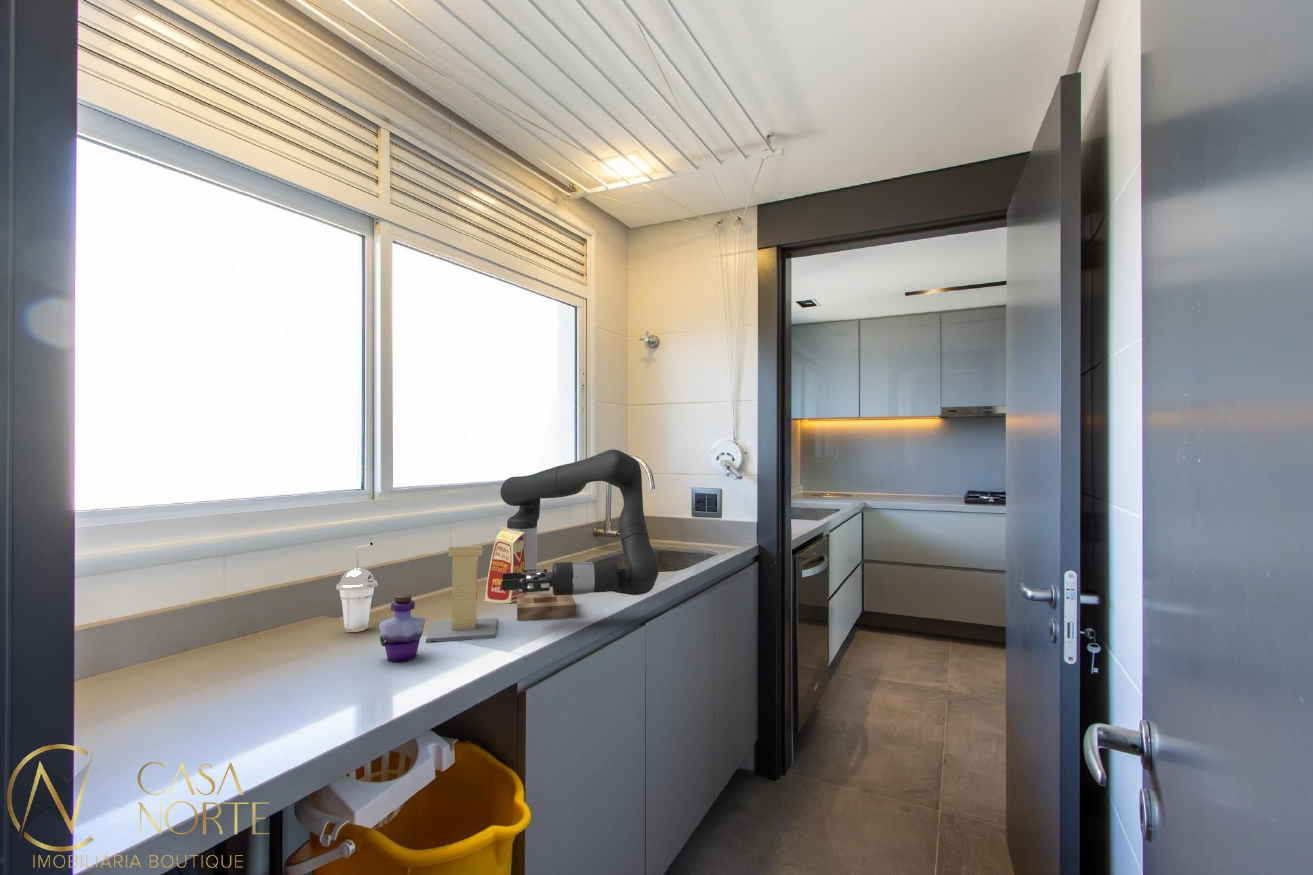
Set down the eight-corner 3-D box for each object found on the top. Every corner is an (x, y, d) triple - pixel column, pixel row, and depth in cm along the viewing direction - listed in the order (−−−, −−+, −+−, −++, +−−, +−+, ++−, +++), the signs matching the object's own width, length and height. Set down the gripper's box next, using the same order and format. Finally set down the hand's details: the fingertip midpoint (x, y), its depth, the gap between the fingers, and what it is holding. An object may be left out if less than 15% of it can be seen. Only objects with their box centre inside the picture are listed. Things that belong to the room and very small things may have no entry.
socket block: (517, 620, 142) (517, 607, 142) (517, 606, 156) (517, 595, 156) (576, 617, 145) (576, 604, 145) (570, 603, 159) (571, 592, 159)
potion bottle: (373, 656, 116) (373, 594, 116) (419, 648, 121) (419, 588, 122) (383, 668, 109) (384, 602, 110) (432, 659, 114) (432, 595, 115)
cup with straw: (374, 623, 140) (375, 537, 141) (380, 632, 133) (381, 541, 133) (333, 628, 136) (335, 540, 136) (336, 638, 128) (338, 544, 129)
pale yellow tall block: (446, 631, 130) (447, 548, 131) (449, 625, 135) (450, 545, 136) (480, 629, 132) (480, 547, 133) (481, 623, 137) (482, 544, 137)
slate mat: (426, 642, 125) (426, 638, 125) (434, 624, 138) (434, 621, 139) (495, 637, 128) (495, 634, 128) (497, 620, 142) (497, 617, 142)
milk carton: (484, 601, 162) (485, 527, 162) (502, 594, 170) (503, 524, 171) (514, 604, 159) (514, 528, 160) (531, 596, 168) (531, 525, 168)
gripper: (570, 557, 146) (502, 560, 143) (576, 567, 132) (501, 570, 129) (570, 588, 146) (502, 591, 142) (576, 601, 132) (500, 605, 129)
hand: (501, 581), depth 136 cm, fingers open, 8 cm apart
